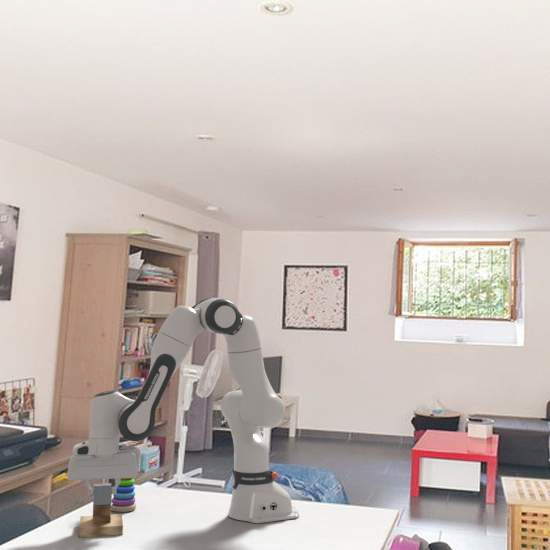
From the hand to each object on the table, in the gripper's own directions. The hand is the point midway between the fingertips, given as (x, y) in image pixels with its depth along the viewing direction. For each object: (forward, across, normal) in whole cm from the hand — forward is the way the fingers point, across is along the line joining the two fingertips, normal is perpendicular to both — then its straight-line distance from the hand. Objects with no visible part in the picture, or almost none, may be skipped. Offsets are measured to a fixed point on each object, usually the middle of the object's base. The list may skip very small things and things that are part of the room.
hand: (102, 494), depth 188 cm
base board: (+10, 0, 0) cm, 10 cm away
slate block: (+2, 0, 0) cm, 3 cm away
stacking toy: (+10, -7, -20) cm, 24 cm away
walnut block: (+8, 0, 0) cm, 8 cm away
